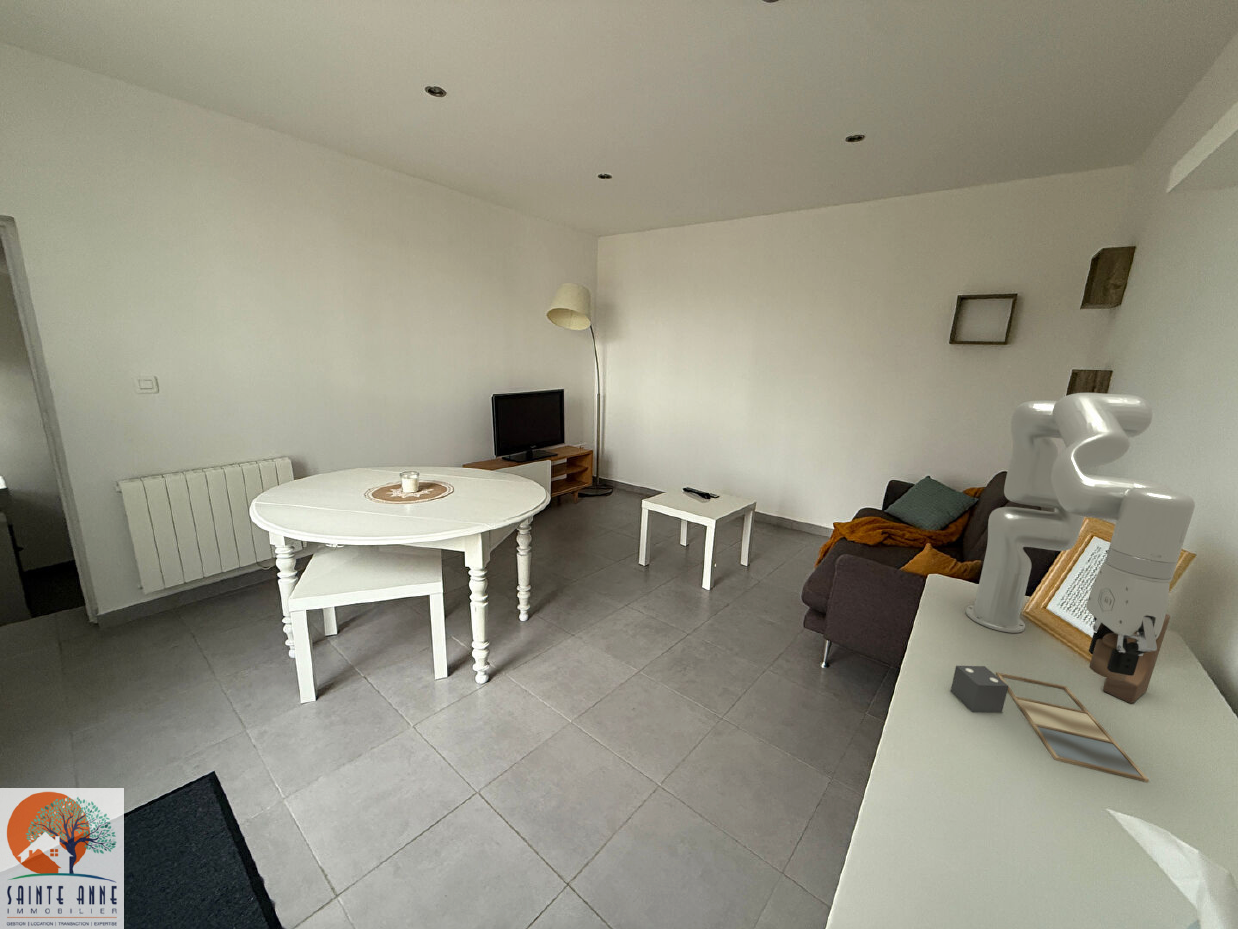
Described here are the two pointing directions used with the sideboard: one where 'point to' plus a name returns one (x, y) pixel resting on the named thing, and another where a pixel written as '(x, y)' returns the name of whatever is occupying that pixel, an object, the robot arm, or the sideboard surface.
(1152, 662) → the wooden block
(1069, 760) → the board
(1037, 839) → the sideboard surface
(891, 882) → the sideboard surface
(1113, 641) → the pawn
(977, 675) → the die
